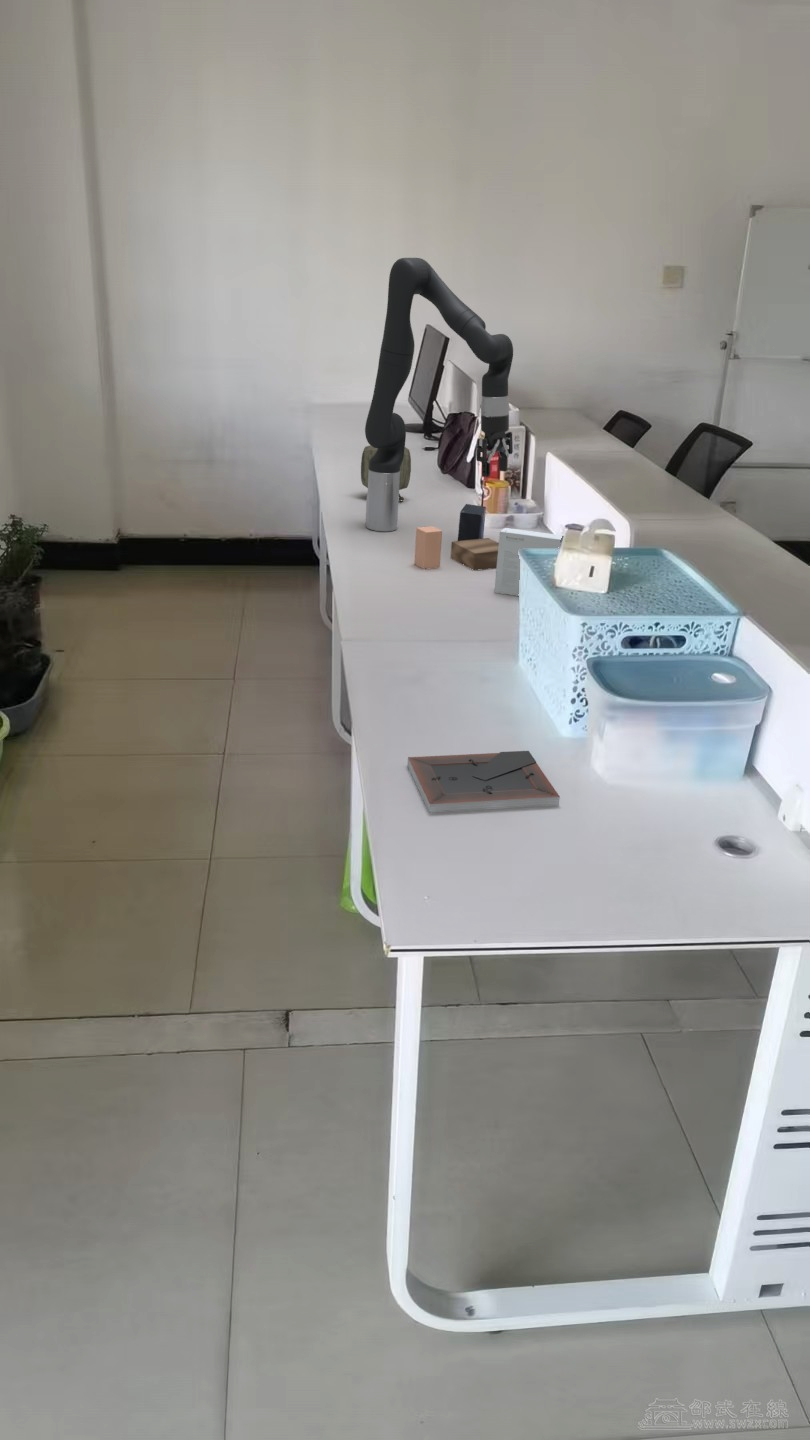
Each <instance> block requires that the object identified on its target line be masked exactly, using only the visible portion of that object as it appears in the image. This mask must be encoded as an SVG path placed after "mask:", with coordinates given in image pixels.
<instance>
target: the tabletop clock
mask: <svg viewBox="0 0 810 1440" xmlns="http://www.w3.org/2000/svg"><path fill="white" fill-rule="evenodd" d="M377 449H378V448H374V447H372V446H371V445H370V444H369V445H367V446H364V449H363V451H362V454H361V462H360V480H361V484H362V485H363V486H364V487H365V488H367V489H368V474H369V460H370V459H371V458H372V457H373V456H374V455H375V453H376V451H377ZM411 472H412V456H411V452H410V449H409V448H407V446H405V449H404V458H403V461H402V463H401V466H400V483H399V491H401V490H405V489H407V488H408V486H409V483H410V480H411ZM399 500H405V498H404V497H403V496H401V494H400V493H399Z"/></svg>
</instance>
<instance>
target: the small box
mask: <svg viewBox="0 0 810 1440" xmlns="http://www.w3.org/2000/svg"><path fill="white" fill-rule="evenodd" d="M486 512H487V507H486V506H483V505H478V504H477V505H476V504H470V503H469V504H468V503H465V505H464V506H463V507H462V509H461V510H460V512H459V519H458V521H459V522H458V532H457V533H458V534H457V541H464V540H474V539H483V538H484V534H485V532H484V531H485V523H486V522H485V521H486Z"/></svg>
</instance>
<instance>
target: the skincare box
mask: <svg viewBox="0 0 810 1440" xmlns="http://www.w3.org/2000/svg"><path fill="white" fill-rule="evenodd" d="M562 536H564V535H562V534H554V533H547V532H539V531H531V530H524V529H517V528H508V527H504V528H502V529H501V530H499V536H498V537H499V538H498V543H499V547H498V556H497V567H496V568H495V569H496V571H495V580H494V581H495V582H494V590H493V592H495V593H494V594H499V593H501V595H506V594H510V595H509V596H513V595H516V596H515V597H519V596H518V594H519V580H520V559H519V555H518V550H519V549H523V548H558V547H559V545H560V540H561V538H562Z"/></svg>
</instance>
